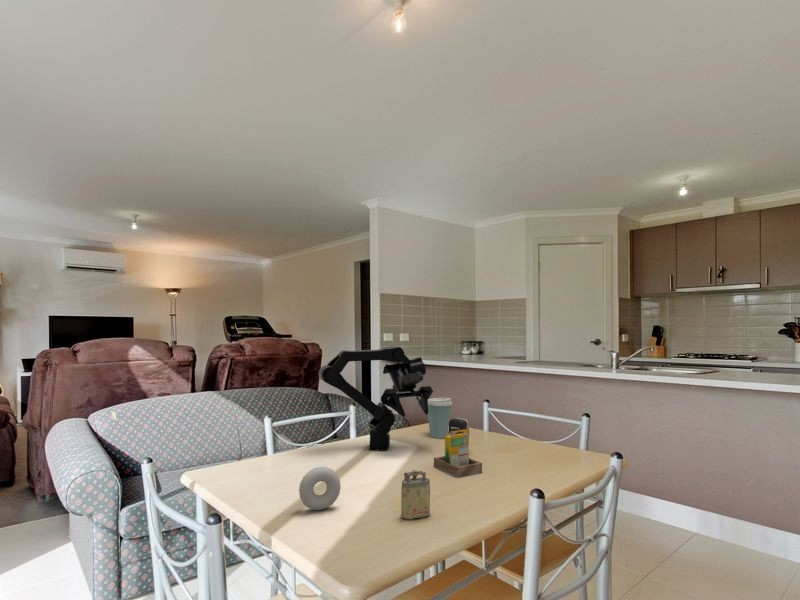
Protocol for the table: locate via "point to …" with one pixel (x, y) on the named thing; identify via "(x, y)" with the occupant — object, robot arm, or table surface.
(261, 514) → the table surface
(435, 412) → the disposable coffee cup
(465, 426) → the black upright block
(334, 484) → the donut
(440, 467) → the tray
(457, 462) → the crayon box
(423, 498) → the lighter
